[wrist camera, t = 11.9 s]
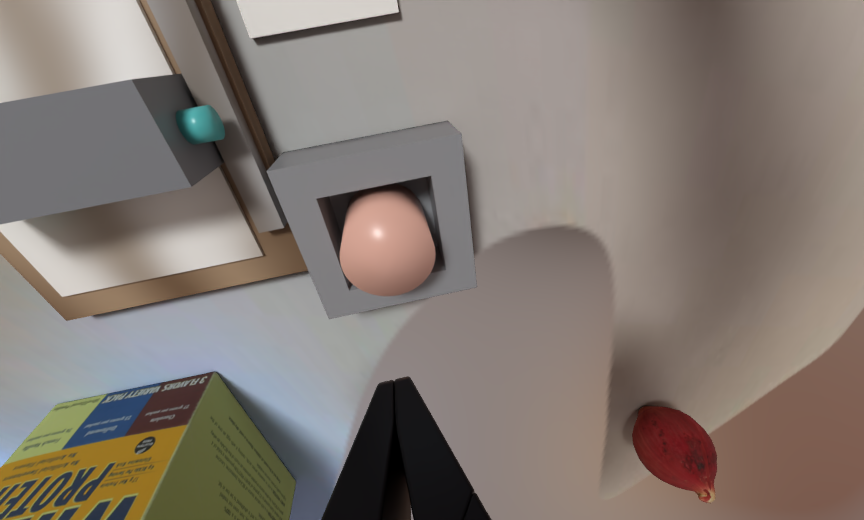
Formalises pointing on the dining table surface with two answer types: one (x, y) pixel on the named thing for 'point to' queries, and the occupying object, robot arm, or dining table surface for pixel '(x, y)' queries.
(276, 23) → the card
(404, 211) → the button
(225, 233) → the clipboard
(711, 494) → the onion
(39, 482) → the protein box
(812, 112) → the dining table surface
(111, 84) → the block
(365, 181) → the button housing
